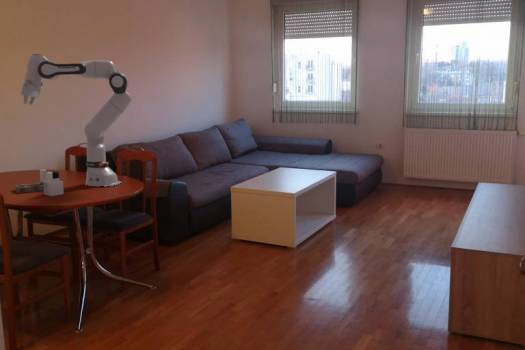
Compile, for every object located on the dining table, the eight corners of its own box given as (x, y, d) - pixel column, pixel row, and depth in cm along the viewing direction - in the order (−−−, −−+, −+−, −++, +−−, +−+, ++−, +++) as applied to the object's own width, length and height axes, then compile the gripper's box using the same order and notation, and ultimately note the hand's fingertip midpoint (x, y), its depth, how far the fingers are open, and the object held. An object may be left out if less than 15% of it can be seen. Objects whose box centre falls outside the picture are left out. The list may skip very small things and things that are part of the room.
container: (56, 192, 305) (55, 170, 303) (63, 194, 300) (62, 171, 298) (43, 194, 299) (42, 171, 297) (51, 196, 294) (49, 173, 292)
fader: (46, 182, 316) (45, 169, 315) (48, 183, 312) (47, 170, 311) (39, 183, 314) (38, 169, 313) (41, 184, 310) (40, 170, 309)
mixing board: (50, 186, 321) (50, 181, 321) (55, 189, 312) (55, 184, 312) (15, 190, 310) (14, 184, 309) (19, 193, 301) (18, 187, 300)
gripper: (32, 80, 305) (27, 104, 306) (43, 83, 325) (39, 106, 326) (21, 78, 304) (16, 101, 305) (33, 81, 325) (28, 103, 325)
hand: (28, 104), depth 316 cm, fingers open, 8 cm apart
